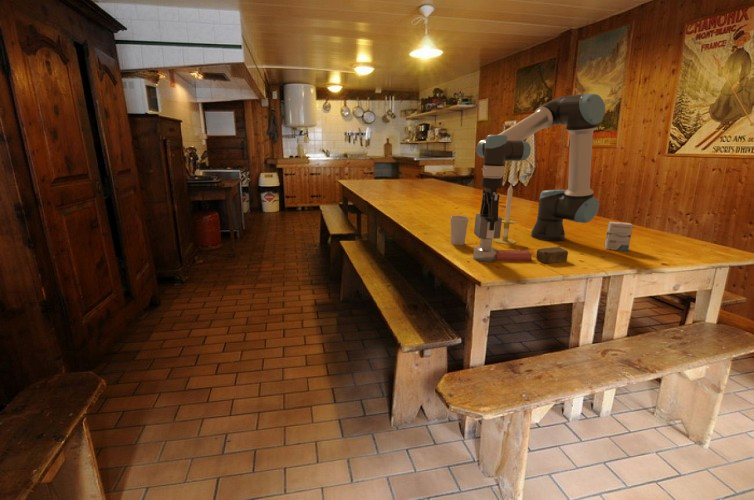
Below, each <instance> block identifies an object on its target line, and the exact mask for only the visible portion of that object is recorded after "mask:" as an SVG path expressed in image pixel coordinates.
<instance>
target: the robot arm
mask: <svg viewBox="0 0 754 500" xmlns="http://www.w3.org/2000/svg"><path fill="white" fill-rule="evenodd" d="M605 115H606V104H605V101H604V99H603V98H602V97H601V96H600V95H599V94H596V93H580V94H572V95H562V96H559V97H556V98H554V99H552V100H550V101H548V102H546V103H545V104H542V105H540V106H539V107H537V108H536V109H535V110H534V113H532V114H530V115H528V116H526V117H525V118H524V119H522V120H519V122H517V123H515V124H513V125H512V126H510V127H508V128H507V129H505V130H504V131H502V132H500V133H499V134H489V135H487V136H486V138H485V139H482V140H480V141H478V143H477V145H476V150H475V151H476V155H477V156H478V157H480V158H482V159H483V166H482V167H481V171H482V176H483V177H482V178H481V187H482V188H484V189H483V190H482V197H481V204H480V211H479V214H489V220H487V222H488V224H487V234H486V238H493V239H492V240H494V230H495V222H496V221H498V216H499V203H500V197H501V196H500V194H498V193H497V191H498V189H501V188H502V187H503V178H502V177H504V172H505V162H506V161H507V162H509V161H510V162H513V161H514V162H516V161H517V162H520V161H521V162H522V161H525V160H526V159H528V158H529V156H530V154H531V149H532V147H531V144H530V143H529V142H528V141H526V139H528V138H529V137H530V136H532V135H535V134H536V133H537V132H539V131H541V130H542V129H545V130H546V129H549V128H550V127H552V126H556V125H566V126H565V127H566V132H568V133H569V152H568V153H569V155H568V156H569V157H568V160H569V161H568V183H567V185H568V186H567V189H546V190H542V191H541V192H540V195H539V199H538V208H537V214H536V215H537V216H536V221H535V223H534V226H533V227H532V229H531V233H530V236H531V237H532V238H535V239H538V240H544V241H550V242H551V241H553V242H555V241H563V240H565V236H566V233H565V232H566V231H565V228H564V220H566V221H572V222H575V223H581V224H586V223H589V222H591V221H592V220H593V219H594V218H595V217H596V215H597V214H598V211H599V208H600V201H599V200H598V198H596V197H594V190H592V188H591V173H592V157H593V155H592V154H593V138H594V131H595V130H597V128H598V124H600V123H602V121H603V119H604V117H605Z"/></svg>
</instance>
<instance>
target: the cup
mask: <svg viewBox="0 0 754 500" xmlns="http://www.w3.org/2000/svg"><path fill="white" fill-rule="evenodd" d="M469 219H470V218H469V216H464V215H451V216H450V244H451V245H454V246H463V245H465V244H466V243H465V242H466V237H467V232H468V231H467V230H468V225H469Z"/></svg>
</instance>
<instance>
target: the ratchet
mask: <svg viewBox="0 0 754 500" xmlns="http://www.w3.org/2000/svg"><path fill="white" fill-rule="evenodd" d="M492 244H493V239H491V238H480V244H479V245H478V246H477V245H476V246H474V248H473V256H472V258H473V260H475V261H478V262H482V263H493V262H496V261H512V262H513V261H515V262H517V261H523V262H525V261H528V262H529V261H532V259H533V258H532V257H533V252H531V251H530V250H528V249H523V250H522V249H517V250H516V249H497V248H495V247H493V245H492Z"/></svg>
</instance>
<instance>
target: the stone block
mask: <svg viewBox="0 0 754 500" xmlns="http://www.w3.org/2000/svg"><path fill="white" fill-rule="evenodd" d="M568 255H569V251H568V250H567V249H564V248H562V247H560V246H558V247H557V246H556V247H555V246H553V247H545V248H537V250H536V260H537V261H539V262H540V263H544V264H554V263H557V264H558V263H566V262H567V260H568Z"/></svg>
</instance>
